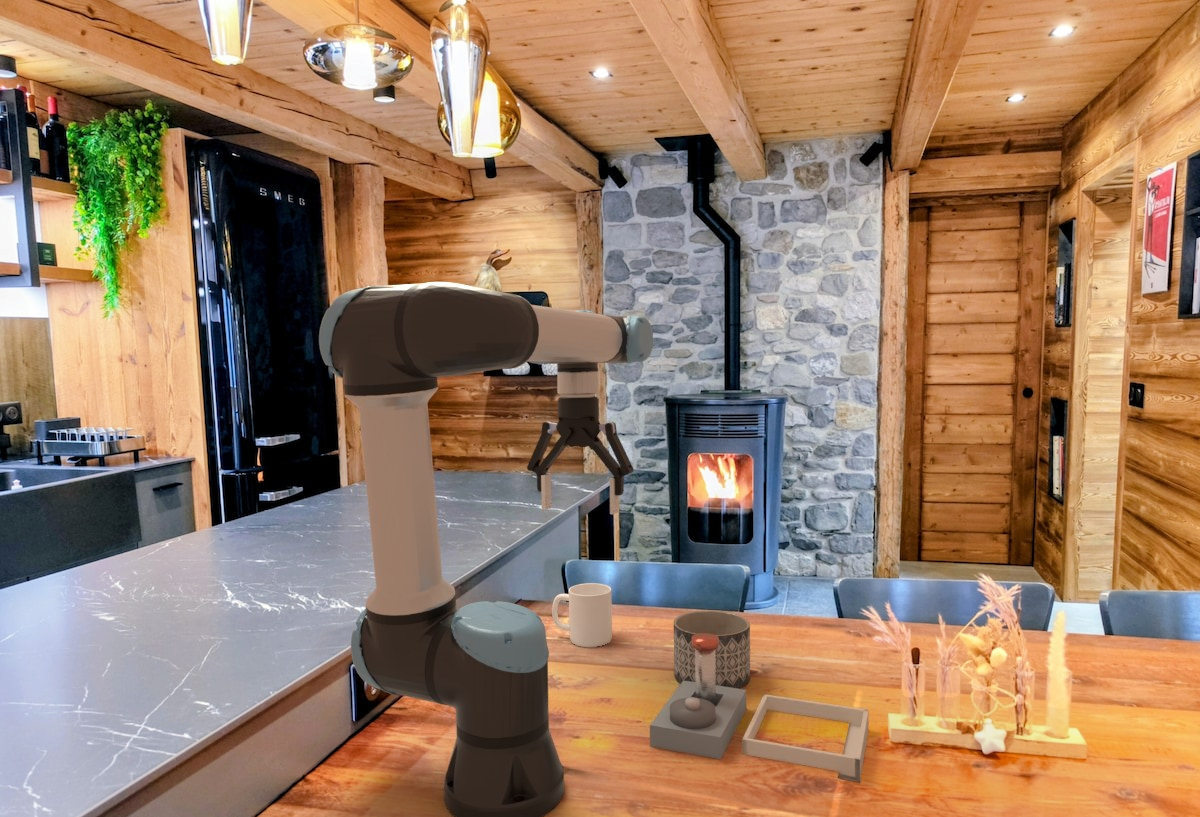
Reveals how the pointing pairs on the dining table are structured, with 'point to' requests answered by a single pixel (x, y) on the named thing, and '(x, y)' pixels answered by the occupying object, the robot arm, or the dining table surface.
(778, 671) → the dining table surface
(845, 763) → the tray
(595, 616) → the cup
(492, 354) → the robot arm
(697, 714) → the block
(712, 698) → the lock pin
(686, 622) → the planter
